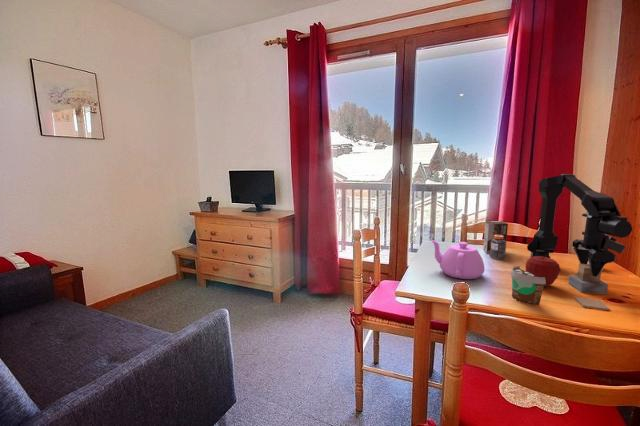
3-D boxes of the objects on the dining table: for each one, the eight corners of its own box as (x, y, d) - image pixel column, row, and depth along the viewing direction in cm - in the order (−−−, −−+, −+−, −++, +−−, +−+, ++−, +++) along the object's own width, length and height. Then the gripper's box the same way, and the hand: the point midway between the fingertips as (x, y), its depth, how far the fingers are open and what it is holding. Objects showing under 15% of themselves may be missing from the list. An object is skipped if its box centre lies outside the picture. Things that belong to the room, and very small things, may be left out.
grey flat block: (580, 293, 110) (582, 282, 110) (568, 284, 118) (569, 274, 117) (606, 295, 109) (608, 284, 108) (592, 286, 116) (593, 276, 116)
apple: (560, 293, 110) (564, 262, 108) (524, 287, 115) (528, 257, 113) (555, 282, 119) (558, 253, 117) (522, 277, 124) (525, 250, 122)
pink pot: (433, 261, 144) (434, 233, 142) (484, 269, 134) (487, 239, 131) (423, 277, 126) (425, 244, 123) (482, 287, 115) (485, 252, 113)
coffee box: (501, 250, 161) (504, 221, 158) (505, 254, 155) (508, 223, 152) (482, 249, 163) (485, 220, 160) (486, 253, 157) (488, 222, 154)
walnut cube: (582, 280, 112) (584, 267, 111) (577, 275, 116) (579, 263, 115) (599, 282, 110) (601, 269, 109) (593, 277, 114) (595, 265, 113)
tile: (582, 307, 99) (582, 305, 99) (574, 298, 106) (574, 296, 105) (609, 310, 97) (610, 309, 96) (599, 301, 103) (599, 299, 103)
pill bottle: (502, 256, 152) (504, 234, 150) (505, 260, 146) (507, 237, 144) (488, 255, 154) (490, 233, 152) (491, 258, 148) (493, 236, 146)
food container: (499, 292, 111) (502, 265, 109) (515, 291, 111) (518, 265, 110) (525, 308, 99) (528, 278, 97) (542, 307, 99) (546, 278, 98)
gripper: (639, 238, 98) (631, 284, 101) (610, 227, 115) (604, 266, 118) (596, 236, 102) (589, 279, 105) (574, 225, 119) (569, 263, 122)
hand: (589, 271), depth 112 cm, fingers open, 9 cm apart
